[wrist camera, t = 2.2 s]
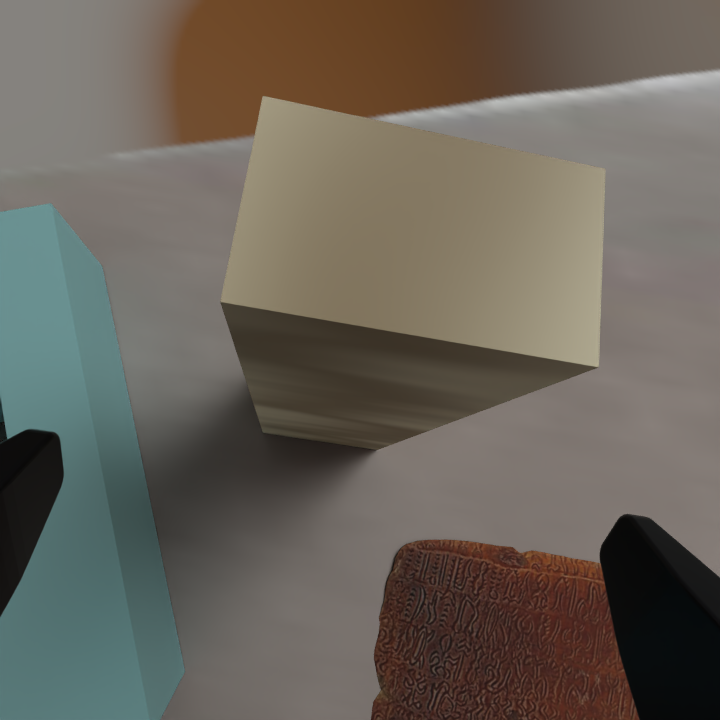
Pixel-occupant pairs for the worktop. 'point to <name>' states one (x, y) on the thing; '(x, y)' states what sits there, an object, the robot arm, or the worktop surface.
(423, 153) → the slat
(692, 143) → the worktop surface
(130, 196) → the worktop surface
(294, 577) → the worktop surface
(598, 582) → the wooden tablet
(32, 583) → the end cap
